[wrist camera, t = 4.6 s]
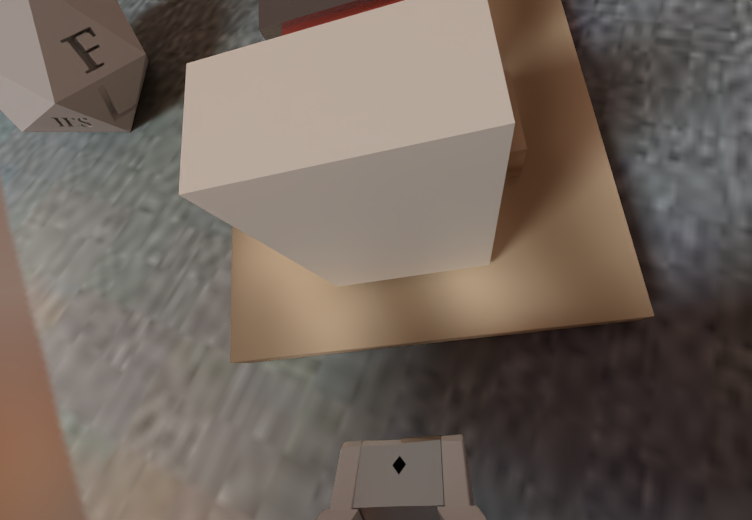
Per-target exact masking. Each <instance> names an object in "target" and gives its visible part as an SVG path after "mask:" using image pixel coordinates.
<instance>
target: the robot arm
mask: <svg viewBox="0 0 752 520" xmlns="http://www.w3.org/2000/svg"><path fill="white" fill-rule="evenodd" d="M316 520H487V519H486V517H485V516H484V515H483V513H482V512H481V511H480V509H479V508H478V506H474V500H473V492H472V484H471V478H470V472H469V466H468V460H467V455H466V449H465V444H464V438H463V435H462V434H459V435H447V436H441V435H438V436H425V437H413V438H402V439H393V440H372V441H351V442H344V444H343V446H342V448H341V452H340V457H339V462H338V467H337V473H336V478H335V483H334V488H333V493H332V499H331V504H330V509H329V510H323V512H322V513H321V514H320V515H319V517H318V518H317V519H316Z"/></svg>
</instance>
